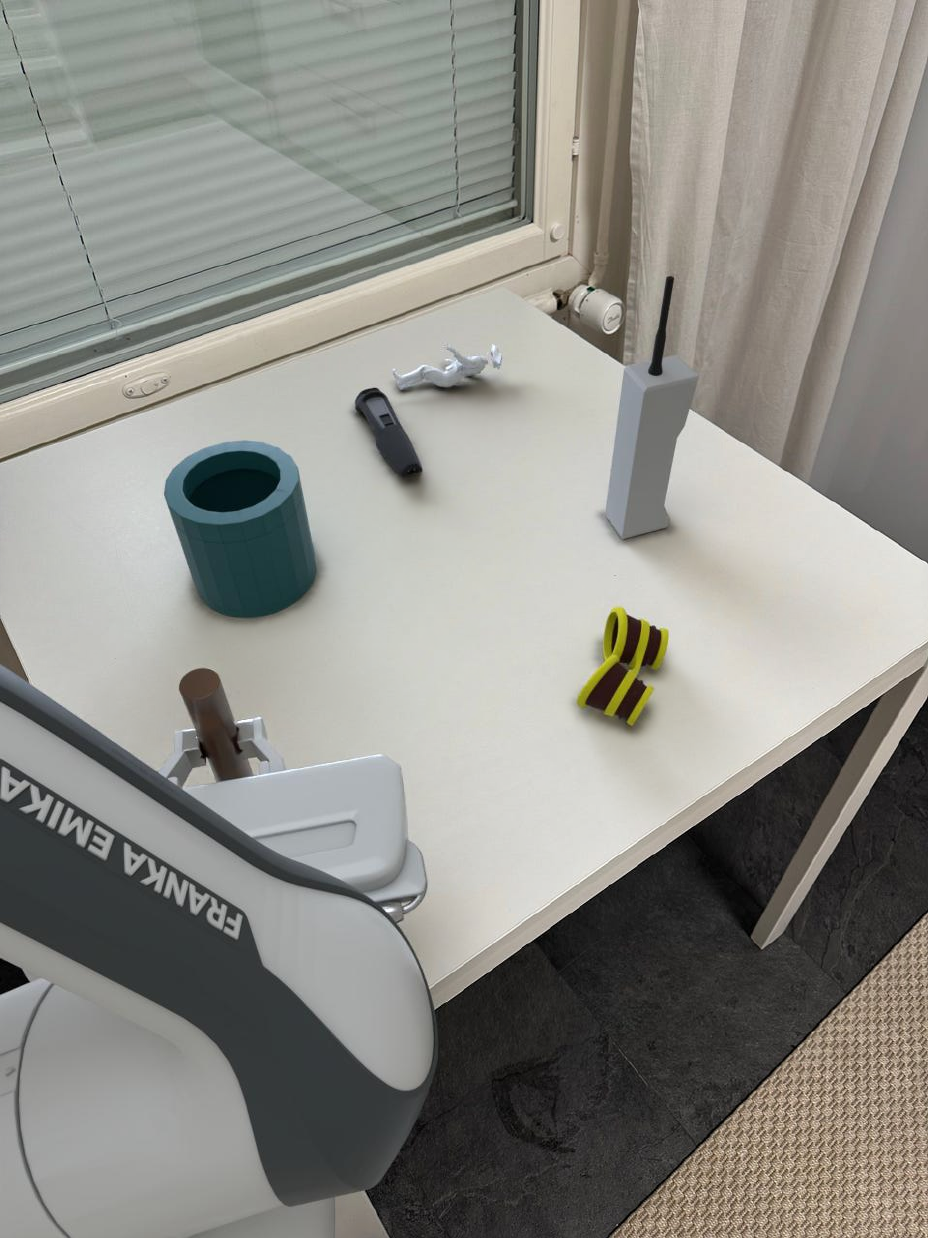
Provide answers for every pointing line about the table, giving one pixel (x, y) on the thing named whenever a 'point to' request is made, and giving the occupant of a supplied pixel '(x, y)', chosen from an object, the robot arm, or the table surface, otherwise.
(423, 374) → the soldier figure
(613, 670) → the opera glasses
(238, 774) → the brush
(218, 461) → the cup
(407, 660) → the table surface
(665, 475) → the vintage mobile phone
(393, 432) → the electric trimmer
